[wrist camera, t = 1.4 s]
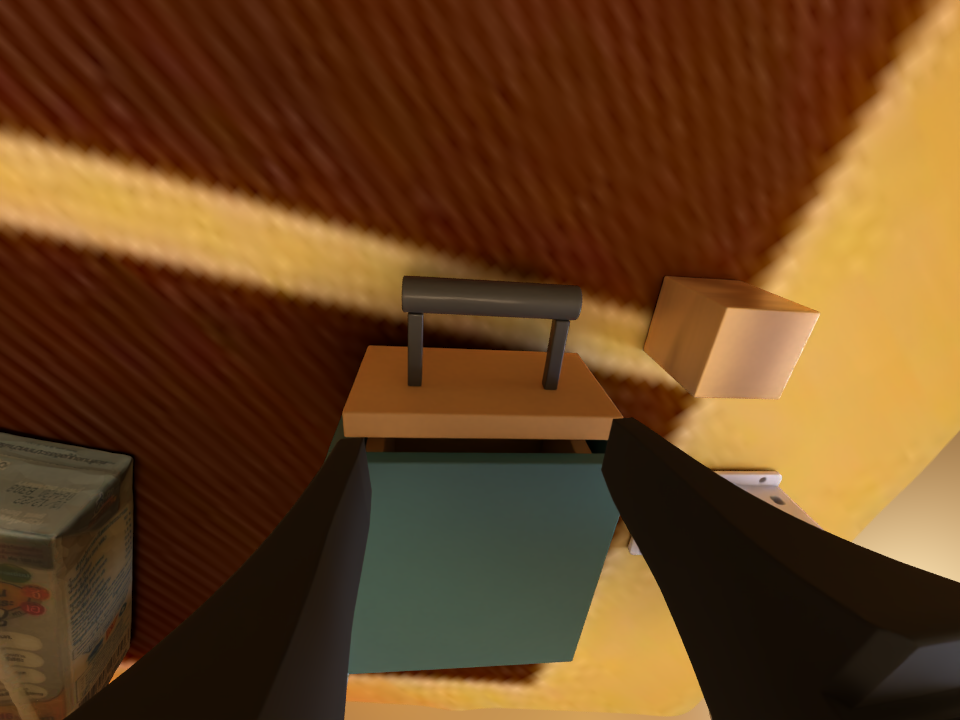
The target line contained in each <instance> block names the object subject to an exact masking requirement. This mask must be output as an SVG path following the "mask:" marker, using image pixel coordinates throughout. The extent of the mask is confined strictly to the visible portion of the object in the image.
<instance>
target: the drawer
mask: <svg viewBox="0 0 960 720" xmlns="http://www.w3.org/2000/svg"><path fill="white" fill-rule="evenodd" d="M581 307H582V292H581V289H580V287H579V286H574V285H557V284H540V283H523V282H505V281H488V280H471V279H454V278H437V277H420V276H404V277H403V281H402V310H403V312H408V347H399V346H372V345H369V346H368V348H367V350H366V353H365V355H364V358H363V361H362V363H361V366H360V368H359V371H358V373H357V376H356V379H355V381H354V384H353V386H352V389H351V392H350V394H349V397H348V399H347V402H346V404H345V407H344V410H343V412H342V416H343V428H344V436H345V437H368V439H367V443H366V447H365V449H366V452H448V453H592V452H591V450H590V448H589V447H588V445H587V443H586V441H585V440H608V438H609V433H610V429H611V425H612V420H613V419H619V418H623V416H622V415H621V413H620V412H619V410H618V409H617V408H616V406H615V405H614V403H613V402H612V401H611V399H610V398H609V396H608V395H607V394H606V392H605V391H604V390H603V388H602V387H601V385H600V384H599V383H598V381H597V380H596V378H595V377H594V376H593V374H592V373H591V371H590V370H589V369H588V367H587V366H586V365H585V363H584V362H583V360H582V359H581V358H580V356H579V355H578V354H577V353H564V350H565V345H566V340H567V335H568V329H569V324H570V321H569V320H576V319H577V318H578V317H579V315H580V312H581ZM424 313H435V314H456V315H477V316H498V317H519V318H540V319H553V321H552V326H551V332H550V338H549V344H548V350H547V352H532V351H505V350H478V349H452V348H425V347H423V318H424Z"/></svg>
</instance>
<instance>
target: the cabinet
mask: <svg viewBox="0 0 960 720" xmlns="http://www.w3.org/2000/svg"><path fill="white" fill-rule="evenodd" d="M345 438H359V437H345V436H344V428H343V416H341V419H340V421H339V424H338V427H337V429H336V432H335V434H334V437H333V440H332V442H331V445H330V447H329V450H328V454H327V456H326V459H327V458H328V456H329V454H330V453H331V451H332V450H333V448H334V446H335V445H336V443H337V442H338V441H339V440H340V439H345ZM367 439H368V437H364V442H365V447H366V443H367ZM585 441H586V443H587V445H588V447H589V448H590V450H591V452H592V453H448V452H366V456H367V462H368V469H369V475H370V482H371V488H372V498H371V514H370V527H369V533H368V539H367V544H366V550H365V556H364V561H363V567H362V572H361V578H360V583H359V589H358V594H357V600H356V605H355V611H354V618H353V625H352V633H351V644H350V655H349V666H348V674H359V673H376V672H394V671H411V670H429V669H447V668H464V667H482V666H499V665H517V664H534V663H552V662H569V661H572V660H573V657H574V654H575V651H576V648H577V644H578V641H579V638H580V635H581V632H582V629H583V626H584V623H585V620H586V617H587V614H588V611H589V608H590V605H591V601H592V598H593V595H594V592H595V589H596V586H597V583H598V580H599V577H600V574H601V571H602V568H603V565H604V561H605V558H606V555H607V552H608V549H609V546H610V543H611V540H612V537H613V534H614V531H615V528H616V525H617V522H618V518H619V515H620V513H619V512H618V510H617V508H616V506H615V504H614V502H613V500H612V497H611V495H610V492H609V490H608V488H607V485H606V482H605V479H604V477H603V474H602V471H601V468H602V464H603V459H604V455H605V451H606V446H607V442H608V440H585ZM326 459H325V461H326ZM325 461H324V462H325Z"/></svg>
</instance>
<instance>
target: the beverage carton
mask: <svg viewBox="0 0 960 720" xmlns="http://www.w3.org/2000/svg"><path fill="white" fill-rule="evenodd" d="M132 483H133V458H132V457H131V456H128V455H124V454H116V453H110V452H105V451H100V450H95V449H88V448H83V447H78V446H73V445H67V444H61V443H55V442H49V441H43V440H37V439H32V438H27V437H21V436H16V435H12V434H8V433H1V432H0V720H63V719H64V718H66V717H67V716H68V715H70V714H71V713H72V712H73V711H75V710H76V709H77V708H79V707H80V706H81V705H83V704H84V703H85V702H86V701H88V700H89V699H90V698H92V697H93V696H94V695H95V694H97V693H98V692H99V691H101V690H102V689H103V688H104V687H106V686H107V685H108V684H109V682H110V680H111V678H112V677H113V675H114V673H115V671H116V670H117V668H118V667H119V665H120V663H121V662H122V660H123V658H124V656H125V655H126V653H127V651H128V649H129V647H130V635H131V613H132V550H133V507H134V506H133V490H132Z"/></svg>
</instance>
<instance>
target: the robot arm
mask: <svg viewBox="0 0 960 720" xmlns="http://www.w3.org/2000/svg"><path fill="white" fill-rule="evenodd" d="M601 471H602V474H603V477H604V479H605V482H606V485H607V488H608V490H609V492H610V495H611V497H612V500H613V502H614V504H615V506H616V508H617V510H618V512H619V513H620V515H621V517H622V519H623V521H624V523H625V524H626V526H627V528H628V530H629V532H630V534H631V535H632V537H631V540H630V543H629V546H628V550H629V552H630V554H632V555H643V557H644V559H645V561H646V563H647V564H648V566H649V568H650V570H651V572H652V574H653V576H654V578H655V580H656V582H657V584H658V586H659V588H660V590H661V592H662V594H663V596H664V599H665V601H666V603H667V606H668V608H669V610H670V613H671V615H672V617H673V619H674V622H675V624H676V627H677V629H678V631H679V634H680V636H681V639H682V641H683V644H684V646H685V649H686V651H687V654H688V656H689V659H690V661H691V664H692V666H693V669H694V671H695V674H696V677H697V679H698V682H699V685H700V687H701V690H702V693H703V695H704V698H705V701H706V704H707V706H708V709H709V714H710V718H711V720H960V583H959V582H956V581H953V580H950V579H948V578H945V577H942V576H939V575H936V574H933V573H930V572H927V571H925V570H922V569H919V568H916V567H913V566H910V565H908V564H905V563H902V562H899V561H897V560H894V559H891V558H889V557H886V556H884V555H881V554H879V553H876V552H874V551H871V550H869V549H866V548H864V547H861V546H859V545H856V544H854V543H852V542H849V541H847V540H845V539H842V538H840V537H838V536H835V535H833V534H831V533H829V532H826V531H824V530H823V529H822V528H821V527H820V526H819V525H818V524H817V523H816V522H815V521H814V520H813V519H812V518H811V517H810V516H808V515H807V514H806V513H805V512H804V511H803V510H802V509H801V508H800V507H799V506H798V505H797V504H796V503H795V502H794V501H793V500H792V499H791V498H790V497H789V496H788V495H787V494H786V493H785V492H783V491H782V490H781V489H780V488H779V487H778V485H779V483H780V482H781V480H782V476H781V475H780V474H779V473H778V472H777V471H712V470H710V469H709V468H707V467H706V466H704V465H703V464H701V463H700V462H698V461H697V460H695V459H693V458H692V457H691V456H689V455H688V454H686V453H685V452H683V451H682V450H680V449H679V448H677V447H676V446H674V445H673V444H671V443H670V442H668V441H667V440H665V439H664V438H663V437H661V436H660V435H658V434H657V433H655V432H654V431H652V430H651V429H649V428H648V427H646V426H645V425H643V424H642V423H640V422H639V421H637V420H635V419H634V418H619V419H613V420H612V425H611V429H610V433H609V438H608V442H607V446H606V451H605V455H604V459H603V464H602V468H601ZM371 498H372V488H371V482H370V475H369V469H368V462H367V456H366V449H365V442H364V437H359V438H345V439H340V440H339V441H338V442H337V443H336V445H335V446H334V448H333V450H332V451H331V453H330V454H329V456H328V458H327V459H326V461H325V462H324V464H323V465H322V467H321V468H320V470H319V471H318V473H317V474H316V476H315V477H314V478H313V480H312V481H311V483H310V484H309V485H308V487H307V488H306V489H305V491H304V492H303V494H302V495H301V496H300V498H299V499H298V500H297V502H296V503H295V504H294V506H293V507H292V508H291V509H290V511H289V512H288V513H287V514H286V516H285V517H284V518H283V519H282V521H281V522H280V523H279V524H278V525H277V527H276V528H275V529H274V530H273V532H272V533H271V534H270V535H269V536H268V537H267V539H266V540H265V541H264V542H263V543H262V544H261V545H260V546H259V548H258V549H257V550H256V551H255V552H254V553H253V554H252V555H251V556H250V557H249V558H248V560H247V561H246V562H245V563H244V564H243V565H242V566H241V567H240V568H239V569H238V570H237V571H236V572H235V573H234V574H233V575H232V576H231V577H230V578H229V579H228V580H227V581H226V582H225V583H224V584H223V585H222V586H221V587H220V588H219V589H218V590H217V591H216V592H215V593H214V594H213V595H212V596H211V597H210V598H209V599H208V600H207V601H206V602H205V603H203V604H202V605H201V606H200V607H199V608H198V609H197V610H196V611H195V612H194V613H193V614H192V615H191V616H189V617H188V618H187V619H186V620H185V621H184V622H182V623H181V624H180V625H179V626H178V627H177V628H176V629H174V630H173V631H172V632H171V633H170V634H169V635H168V636H166V637H165V638H164V639H163V640H162V641H161V642H160V643H158V644H157V645H156V646H155V647H154V648H153V649H152V650H150V651H149V652H148V653H147V654H146V655H144V656H143V657H142V658H141V659H140V660H138V661H137V662H136V663H135V664H134V665H132V666H131V667H130V668H129V669H127V670H126V671H125V672H124V673H122V674H121V675H120V676H119V677H117V678H116V679H115V680H113V681H112V682H111V683H110V684H108V685H107V686H106V687H104V688H103V689H102V690H101V691H99V692H98V693H97V694H95V695H94V696H93V697H92V698H90V699H89V700H88V701H86V702H85V703H84V704H83V705H81V706H80V707H79V708H77V709H76V710H75V711H73V712H72V713H71V714H70V715H68V716H67V717H66V718H64V719H63V720H344V714H345V702H346V690H347V678H348V666H349V655H350V644H351V633H352V625H353V618H354V611H355V605H356V600H357V594H358V589H359V583H360V578H361V572H362V567H363V561H364V556H365V550H366V544H367V539H368V533H369V527H370V514H371Z"/></svg>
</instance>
